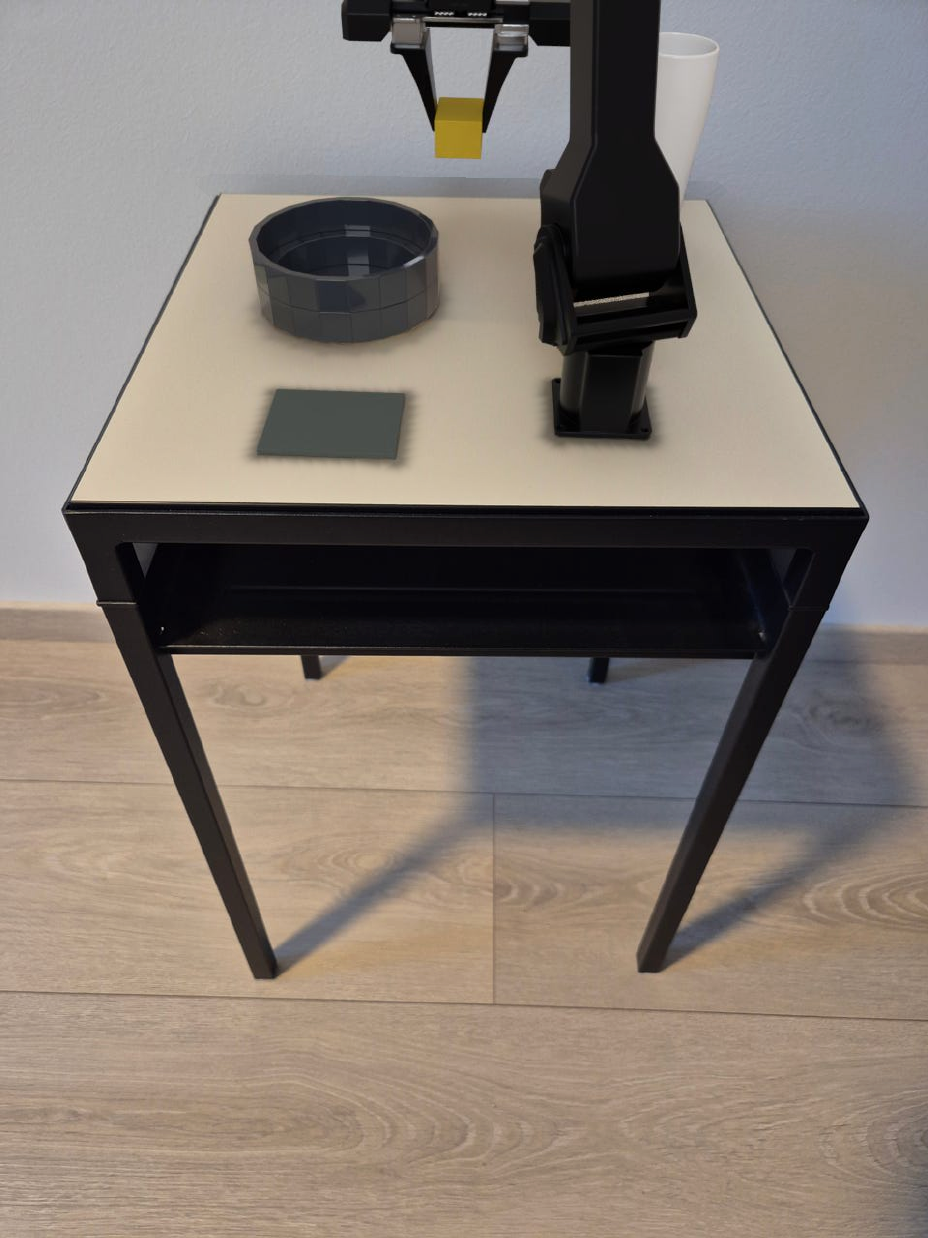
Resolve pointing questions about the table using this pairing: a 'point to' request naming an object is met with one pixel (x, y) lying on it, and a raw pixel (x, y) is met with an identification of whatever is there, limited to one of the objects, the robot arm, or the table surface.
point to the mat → (333, 424)
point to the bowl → (346, 269)
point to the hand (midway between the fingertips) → (459, 130)
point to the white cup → (683, 98)
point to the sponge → (458, 128)
